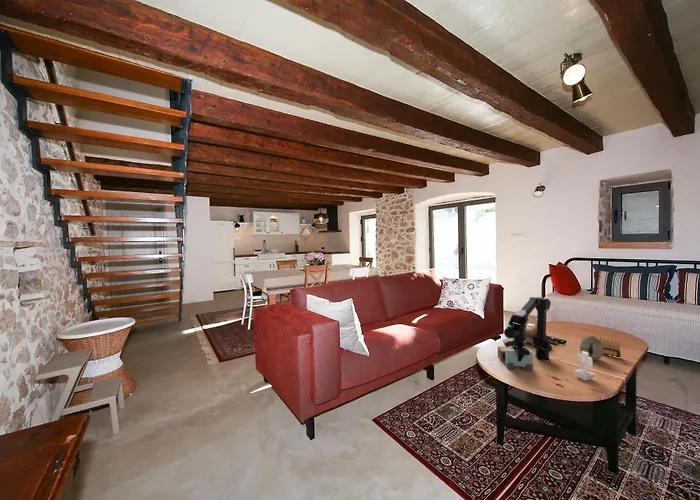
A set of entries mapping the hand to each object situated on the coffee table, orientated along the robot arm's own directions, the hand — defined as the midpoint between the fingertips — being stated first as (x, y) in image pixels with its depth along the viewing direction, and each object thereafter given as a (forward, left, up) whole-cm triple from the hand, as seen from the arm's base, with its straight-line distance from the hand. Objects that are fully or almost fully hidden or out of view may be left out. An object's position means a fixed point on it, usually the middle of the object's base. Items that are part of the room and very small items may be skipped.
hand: (518, 360), depth 175 cm
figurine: (-31, +7, -5) cm, 32 cm away
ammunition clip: (-62, -29, -5) cm, 69 cm away
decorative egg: (-48, -21, -5) cm, 53 cm away
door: (0, 0, -3) cm, 3 cm away
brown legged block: (0, -6, -5) cm, 8 cm away
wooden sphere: (-22, -44, -5) cm, 49 cm away
